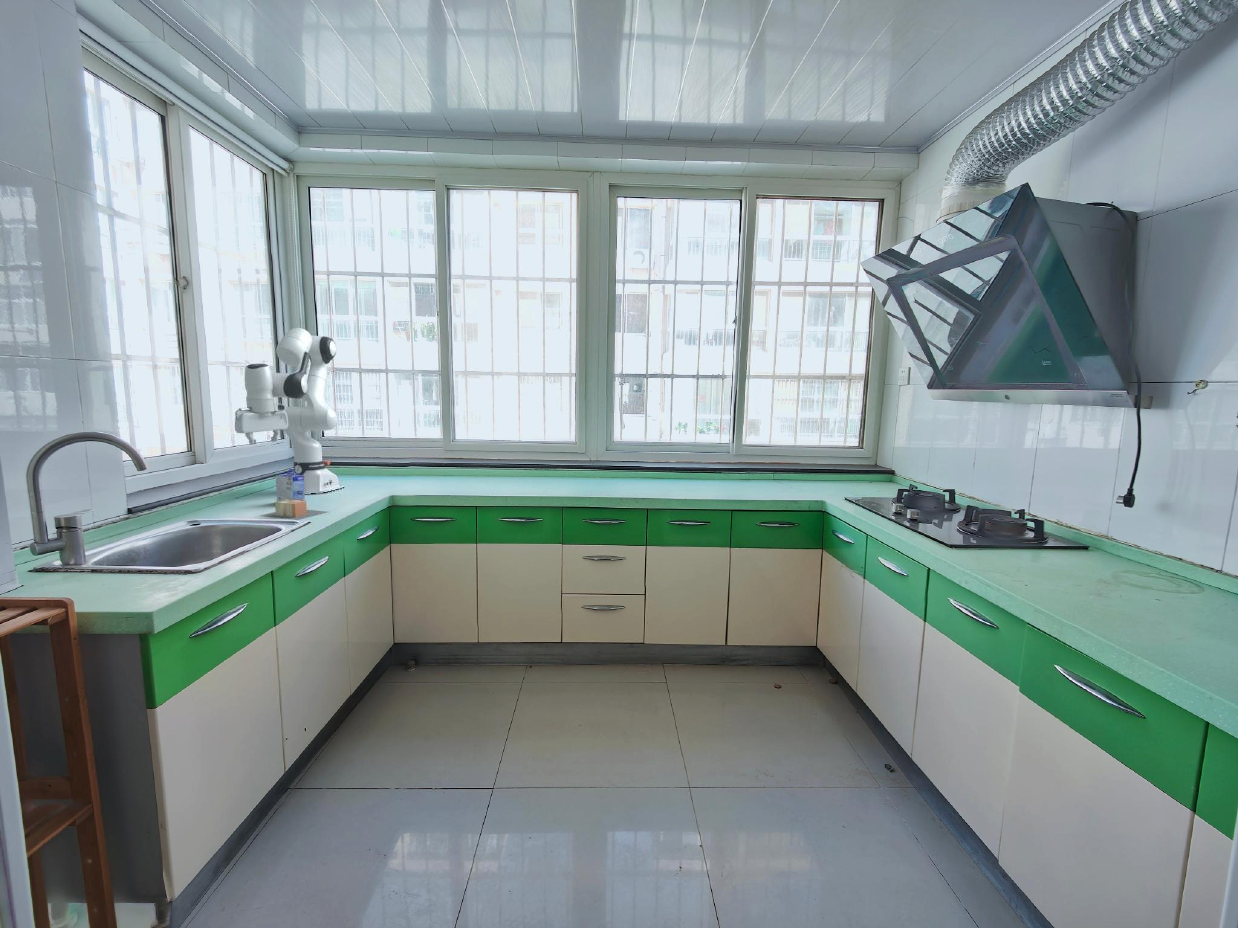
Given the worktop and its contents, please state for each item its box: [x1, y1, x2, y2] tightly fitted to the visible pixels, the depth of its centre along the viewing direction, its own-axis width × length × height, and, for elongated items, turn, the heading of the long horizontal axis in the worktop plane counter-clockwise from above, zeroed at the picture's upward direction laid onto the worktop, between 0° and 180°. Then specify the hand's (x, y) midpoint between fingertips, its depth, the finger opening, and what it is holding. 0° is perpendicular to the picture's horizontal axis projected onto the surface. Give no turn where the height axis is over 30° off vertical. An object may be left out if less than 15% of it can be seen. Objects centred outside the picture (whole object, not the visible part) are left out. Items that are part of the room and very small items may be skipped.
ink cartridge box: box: [275, 468, 306, 502], centre depth 218 cm, size 10×6×14 cm, turn 70°
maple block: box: [274, 500, 308, 517], centre depth 199 cm, size 5×5×9 cm
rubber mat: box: [259, 509, 328, 521], centre depth 201 cm, size 14×18×1 cm
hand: (264, 442), depth 206 cm, fingers open, 8 cm apart
